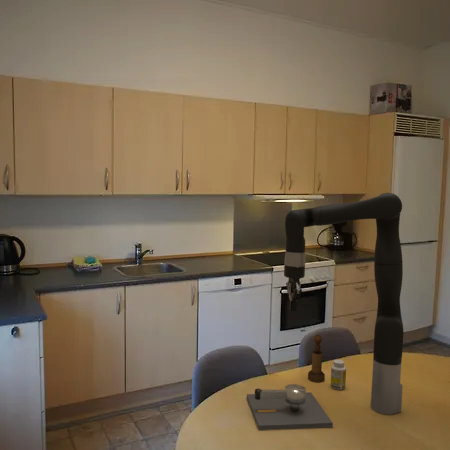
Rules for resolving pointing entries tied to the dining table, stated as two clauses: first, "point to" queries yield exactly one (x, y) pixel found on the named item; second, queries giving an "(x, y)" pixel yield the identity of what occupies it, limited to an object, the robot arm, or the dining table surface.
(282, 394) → the lever handle
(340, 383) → the supplement bottle
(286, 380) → the dining table surface
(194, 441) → the dining table surface
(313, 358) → the wooden pepper mill
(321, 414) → the plate
